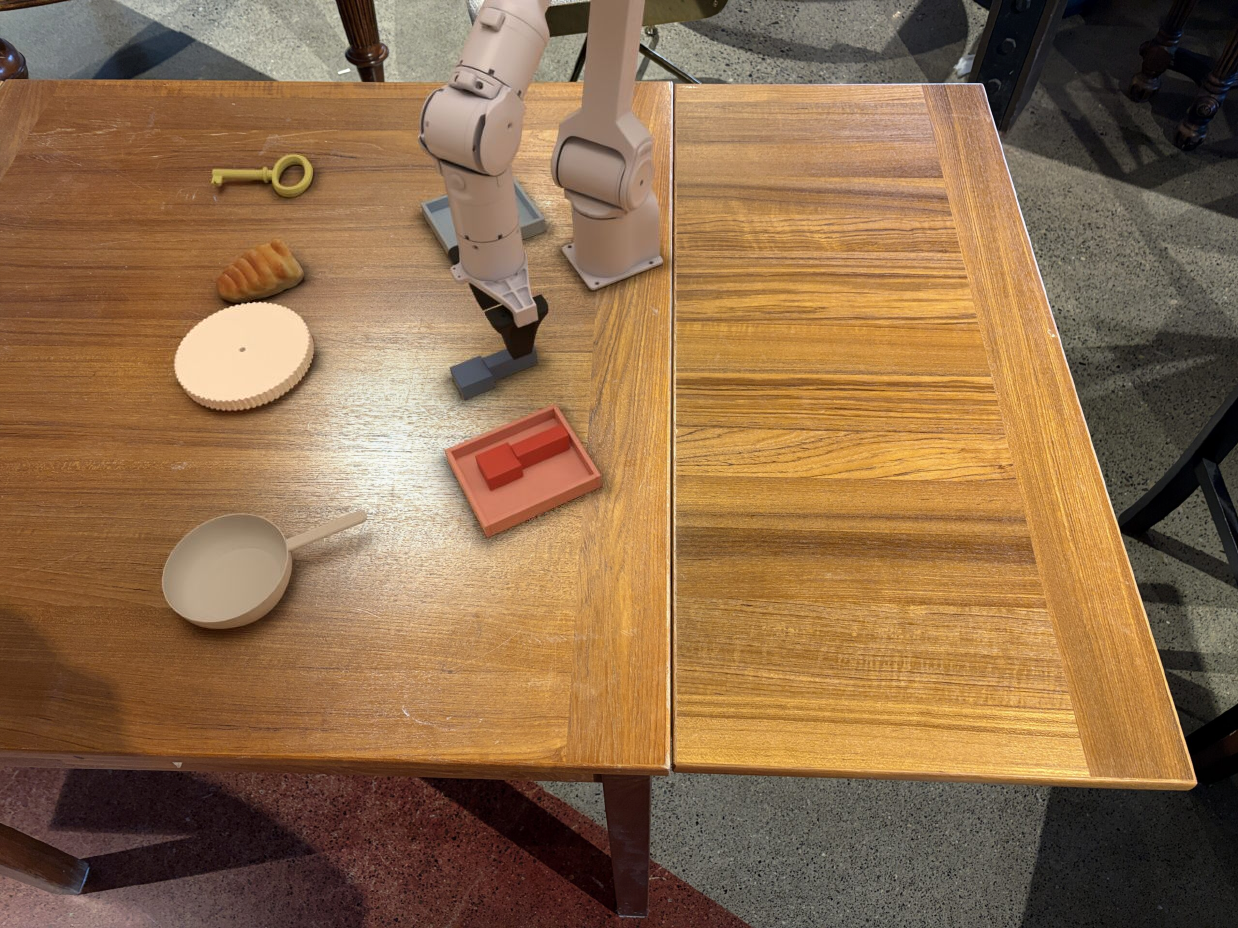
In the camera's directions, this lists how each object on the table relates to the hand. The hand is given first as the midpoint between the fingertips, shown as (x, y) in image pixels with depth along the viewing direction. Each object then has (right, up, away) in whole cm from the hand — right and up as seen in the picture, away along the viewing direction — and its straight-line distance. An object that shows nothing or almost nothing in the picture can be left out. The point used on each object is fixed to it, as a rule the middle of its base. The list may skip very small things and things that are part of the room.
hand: (505, 329), depth 89 cm
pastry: (-29, +8, +14) cm, 34 cm away
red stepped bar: (+2, -13, -2) cm, 13 cm away
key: (-33, +22, +25) cm, 47 cm away
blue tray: (-5, +16, +19) cm, 25 cm away
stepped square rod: (-1, -4, +5) cm, 7 cm away
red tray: (+2, -14, -2) cm, 15 cm away
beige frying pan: (-20, -23, -8) cm, 31 cm away
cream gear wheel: (-28, -3, +7) cm, 29 cm away
